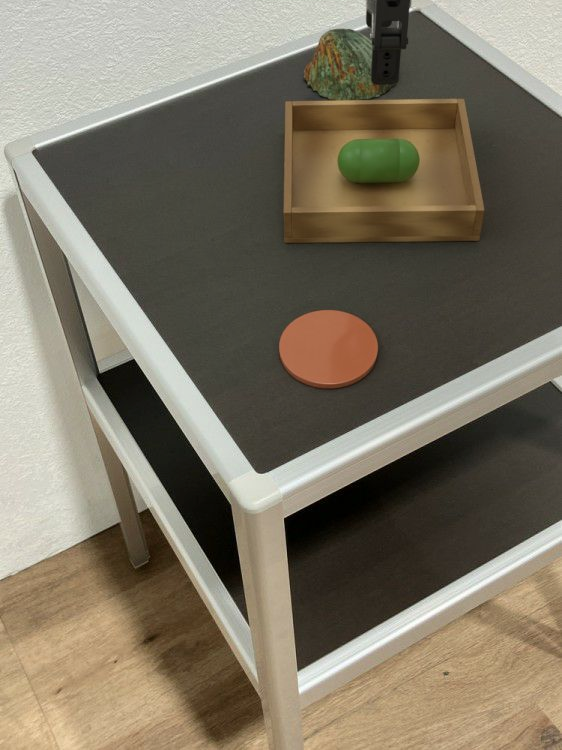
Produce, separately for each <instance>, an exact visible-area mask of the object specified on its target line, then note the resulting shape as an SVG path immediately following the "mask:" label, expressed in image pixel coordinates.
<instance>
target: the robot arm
mask: <svg viewBox="0 0 562 750" xmlns="http://www.w3.org/2000/svg"><path fill="white" fill-rule="evenodd" d="M411 7H412V0H365V10H366V11H365V23H366V24H365V25H366V26H367V28H370V29H371V32H370V34H369V38H370V40H372V61H371V81H372V83H373V84H375V85H393V84H397V83H398V82H399V79H400V69H401V68H400V66H401V57H402V50H406V49H407V45H409V37H408V33H409V32H408V30H409V17H410V9H411ZM393 22H396V27H391V25H392V24H393Z"/></svg>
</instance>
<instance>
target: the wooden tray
mask: <svg viewBox="0 0 562 750" xmlns="http://www.w3.org/2000/svg"><path fill="white" fill-rule="evenodd" d="M284 103H285V105H284V153H283V154H284V156H283V158H284V159H283V164H284V165H283V234H284V235H283V237H284V238H283V240H284V243H285V244H305V243H307V244H308V243H310V244H311V243H312V244H313V243H318V244H319V243H393V242H395V243H396V242H397V243H398V242H402V243H403V242H405V243H406V242H407V243H408V242H410V243H411V242H412V243H413V242H479V241H480V239H481V233H482V229H483V228H482V227H483V221H484V216H485V205H484V199H483V194H482V188H481V184H480V183H481V182H480V177H479V172H478V167H477V162H476V157H475V156H476V155H475V150H474V144H473V140H472V135H471V129H470V123H469V118H468V113H467V112H468V111H467V106H466V101H465V99H464V98H421V99H419V98H418V99H417V98H415V99H414V98H412V99H411V98H410V99H364V100H340V101H335V100H293V101H291V100H286V101H285V102H284ZM356 139H404V140H407V141H409V142H411V143H412V144H413V145H414V146H415V147H416V149H417V151H418V153H419V158H420V162H419V167H418V169H417V171H416V173H415V174H414V175H413V177H411V178H410V179H408V180H407V181H404V182H399V183H354V182H351V181H349V180H347V179H346V178H344V177H343V175H342V174H341V173H340V171H339V168H338V162H337V161H338V155H339V152H340V150H341V149H342V147H343V146H344V145H345V144H347V143H348V142H350V141H352V140H356Z"/></svg>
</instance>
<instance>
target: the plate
mask: <svg viewBox="0 0 562 750" xmlns="http://www.w3.org/2000/svg"><path fill="white" fill-rule="evenodd" d="M278 344H279V345H278V355H279V359H280V362H281V364H282V366H283V367H284V370H286V372H287V373H288V374H289V375H290V376H291V377H292V378H294V379H295V380H296V381H298V382H300V383H302V384H304V385H307V386H309V387H313V388H318V389H329V390H330V389H331V390H332V389H339V388H344V387H348V386H351V385H353V384H356V383H357V382H359V381H361V380H362V379H364V378H365V377H366V376H367V375H369V374H370V373H371V371H372V369H373V368H374V366H375V365H376V363H377V360H378V354H379V343H378V339H377V336H376V333H375V332H374V330H372V327H370V325H369V324H367V322H365V321H364V320H362V319H361V318H359V317H358V316H356V315H354V314H352V313H349V312H345V311H341V310H335V309H320V310H314V311H310V312H308V313H305V314H303V315H300V316H298V317H297V318H295V319H293V321H292V322H290V323H288V325H287V326H286V327H285V329H284V330H283V331H282V334H281V336H280V337H279V342H278Z"/></svg>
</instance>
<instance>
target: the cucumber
mask: <svg viewBox="0 0 562 750" xmlns="http://www.w3.org/2000/svg"><path fill="white" fill-rule="evenodd" d="M337 162H338V168H339V171H340V173H341V174H342V175H343V177H344V178H346V179H347V180H349V181H351V182H354V183H399V182H404V181H407V180H408V179H410V178H411V177H413V175H414V174H415V173H416V171H417V169H418V167H419V162H420V158H419V153H418V151H417V149H416V147H415V146H414V145H413V144H412V143H411V142H409V141H407V140H404V139H356V140H352V141H350V142H348V143H347V144H345V145H344V146H343V147H342V149H341V150H340V152H339V155H338V161H337Z"/></svg>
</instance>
